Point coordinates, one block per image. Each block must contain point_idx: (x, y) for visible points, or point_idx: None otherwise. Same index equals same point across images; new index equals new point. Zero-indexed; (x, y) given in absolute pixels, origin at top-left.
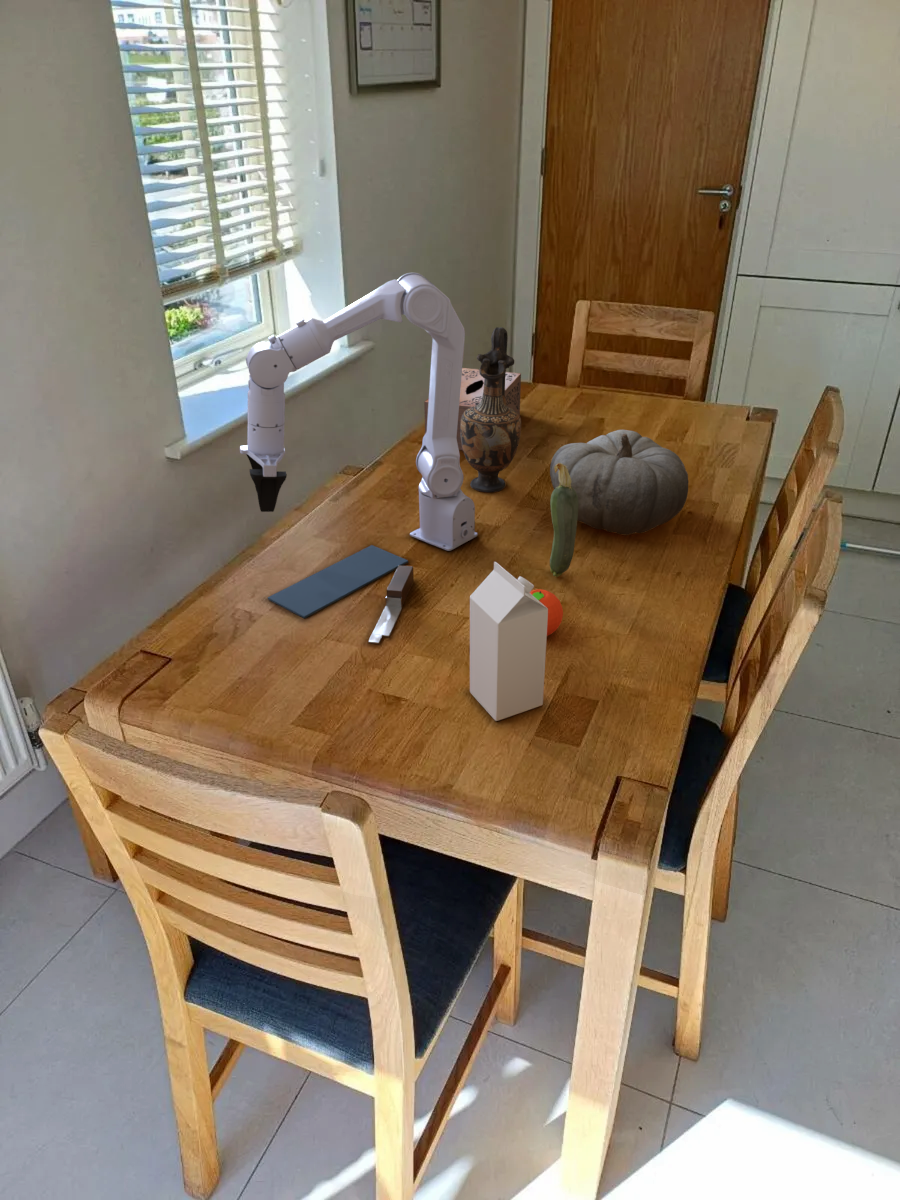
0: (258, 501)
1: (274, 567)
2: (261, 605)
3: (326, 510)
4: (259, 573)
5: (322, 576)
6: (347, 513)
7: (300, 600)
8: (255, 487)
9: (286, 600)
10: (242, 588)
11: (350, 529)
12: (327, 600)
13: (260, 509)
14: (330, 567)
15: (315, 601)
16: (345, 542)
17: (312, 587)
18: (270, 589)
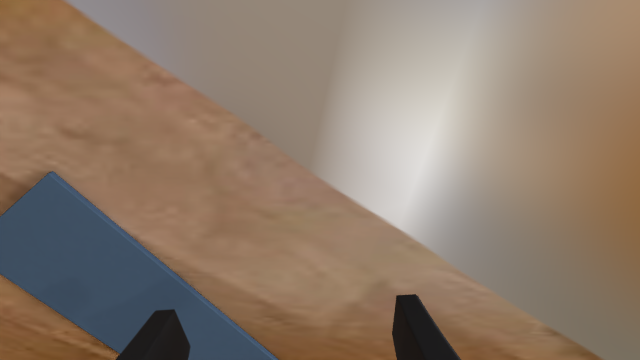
0: (143, 351)
1: (232, 191)
2: (20, 154)
3: (509, 311)
4: (202, 153)
5: (160, 292)
6: (471, 346)
7: (40, 245)
8: (405, 316)
9: (35, 216)
10: (114, 104)
11: (389, 346)
12: (46, 295)
13: (148, 319)
14: (202, 308)
15: (39, 274)
16: (329, 334)
17: (106, 271)
18: (110, 178)
